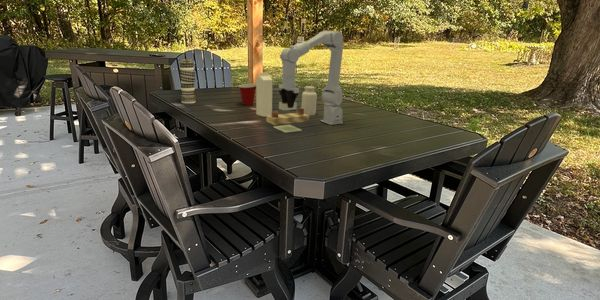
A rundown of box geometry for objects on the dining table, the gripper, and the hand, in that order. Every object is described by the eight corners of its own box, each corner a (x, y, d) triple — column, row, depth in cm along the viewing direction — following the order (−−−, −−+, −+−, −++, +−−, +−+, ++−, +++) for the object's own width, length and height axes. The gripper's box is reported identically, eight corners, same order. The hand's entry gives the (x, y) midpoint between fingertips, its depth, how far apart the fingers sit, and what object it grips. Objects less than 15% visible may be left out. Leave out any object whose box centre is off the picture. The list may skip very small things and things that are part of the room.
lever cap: (292, 107, 179) (292, 101, 178) (296, 109, 176) (296, 102, 175) (278, 108, 175) (279, 102, 174) (283, 110, 172) (283, 103, 171)
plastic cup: (236, 103, 233) (235, 83, 229) (253, 102, 237) (253, 83, 234) (241, 107, 223) (241, 86, 220) (259, 106, 228) (259, 85, 224)
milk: (272, 115, 205) (273, 73, 198) (262, 116, 201) (263, 73, 194) (264, 113, 209) (265, 72, 203) (255, 114, 205) (256, 72, 199)
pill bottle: (316, 116, 207) (317, 88, 202) (301, 115, 207) (302, 87, 202) (315, 113, 214) (317, 86, 210) (301, 112, 215) (302, 85, 210)
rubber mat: (302, 130, 176) (302, 129, 176) (285, 132, 172) (285, 132, 171) (289, 125, 185) (289, 124, 185) (273, 127, 180) (273, 126, 180)
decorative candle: (180, 100, 235) (177, 58, 227) (196, 100, 238) (194, 58, 230) (180, 103, 226) (178, 60, 219) (196, 103, 229) (194, 60, 222)
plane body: (300, 118, 201) (300, 106, 199) (309, 121, 195) (309, 109, 193) (266, 121, 191) (266, 109, 189) (274, 125, 184) (274, 112, 183)
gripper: (273, 74, 175) (272, 104, 179) (289, 78, 163) (288, 110, 167) (286, 74, 178) (285, 103, 183) (303, 78, 167) (302, 109, 171)
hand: (288, 106), depth 175 cm, fingers closed on lever cap, 4 cm apart
